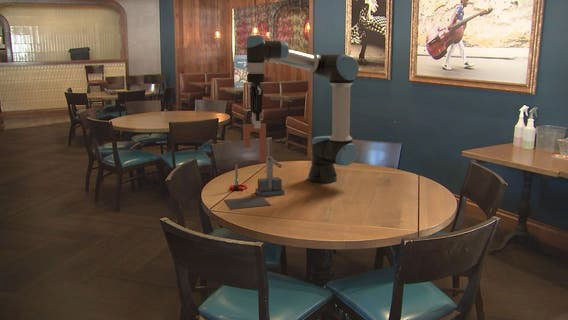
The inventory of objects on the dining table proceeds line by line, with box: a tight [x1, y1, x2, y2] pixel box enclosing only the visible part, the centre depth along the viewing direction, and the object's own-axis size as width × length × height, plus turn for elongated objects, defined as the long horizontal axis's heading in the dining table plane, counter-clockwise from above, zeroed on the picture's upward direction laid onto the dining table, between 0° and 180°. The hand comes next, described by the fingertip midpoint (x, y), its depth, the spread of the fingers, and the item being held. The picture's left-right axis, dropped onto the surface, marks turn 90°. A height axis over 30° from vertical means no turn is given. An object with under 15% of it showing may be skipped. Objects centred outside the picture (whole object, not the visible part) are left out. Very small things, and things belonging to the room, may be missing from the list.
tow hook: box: [229, 164, 248, 192], centre depth 242 cm, size 8×13×9 cm
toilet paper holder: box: [254, 155, 285, 198], centre depth 226 cm, size 12×20×18 cm, turn 18°
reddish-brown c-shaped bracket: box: [242, 123, 267, 164], centre depth 215 cm, size 10×2×17 cm, turn 108°
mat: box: [223, 195, 272, 211], centre depth 219 cm, size 18×14×1 cm
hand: (256, 127), depth 213 cm, fingers closed on reddish-brown c-shaped bracket, 2 cm apart
